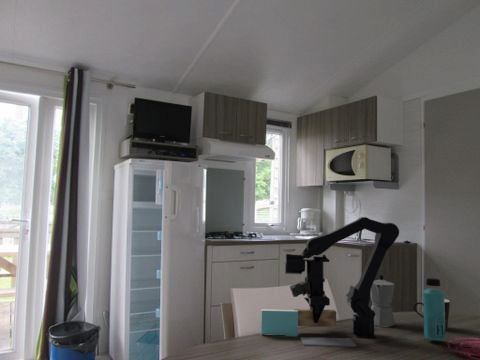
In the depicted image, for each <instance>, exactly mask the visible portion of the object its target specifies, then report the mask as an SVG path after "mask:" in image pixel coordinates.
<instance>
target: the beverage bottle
mask: <svg viewBox="0 0 480 360" xmlns="http://www.w3.org/2000/svg"><path fill="white" fill-rule="evenodd" d="M425 285H426V286H429V287H428V288H426V289H424V290H423V292H422V297H423V304H424V306H423V314H422V316H424V318H423V335H424V338H426V339H429V340H433V341H445V340H446V338H447V335H446V331H447V330H446V325H445V304H444V299H445V292H444V291H443V290H441V289H439V288H430V286H431V287H440V286H441V280H440V279H439V278H434V277H433V278H432V277H431V278H430V277H428V278H426V282H425Z"/></svg>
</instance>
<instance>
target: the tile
mask: <svg viewBox="0 0 480 360" xmlns="http://www.w3.org/2000/svg"><path fill="white" fill-rule="evenodd" d="M260 311H261V312H260V335H261V334H273V335H286V336H285V337H298V336H299V326H298V311H297V310H294V309H267V308H265V309H264V308H263V309H260Z"/></svg>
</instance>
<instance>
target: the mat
mask: <svg viewBox="0 0 480 360" xmlns="http://www.w3.org/2000/svg"><path fill="white" fill-rule="evenodd" d="M300 340H301V343H302V345H303V346H307V347H308V346H309V347H310V346H311V347H312V346H313V347H314V346H316V347H319V346H320V347H347V348H348V347H352V348H353V347H357V344H356V343H355V342H354V341H353V340H352V339H351V337H350V338H349V337H347V338H346V337H343V338H342V337H310V336H309V337H304V336H303V337H301V336H300Z"/></svg>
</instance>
